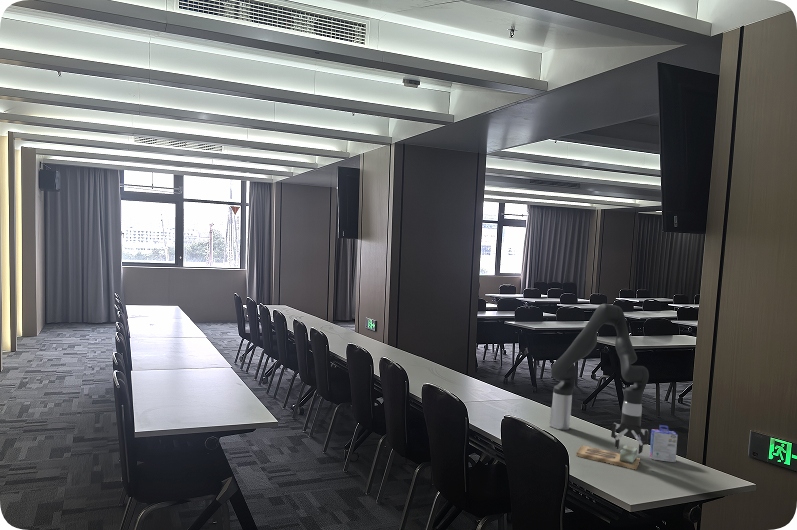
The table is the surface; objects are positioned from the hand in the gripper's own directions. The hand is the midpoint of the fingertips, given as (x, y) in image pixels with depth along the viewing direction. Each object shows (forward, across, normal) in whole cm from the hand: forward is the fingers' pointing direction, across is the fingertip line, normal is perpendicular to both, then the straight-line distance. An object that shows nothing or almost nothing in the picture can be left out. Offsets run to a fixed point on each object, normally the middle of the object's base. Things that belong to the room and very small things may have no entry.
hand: (628, 450), depth 232 cm
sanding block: (+4, 0, 0) cm, 4 cm away
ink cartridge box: (+6, -12, -17) cm, 22 cm away
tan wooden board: (+5, +8, 0) cm, 9 cm away
